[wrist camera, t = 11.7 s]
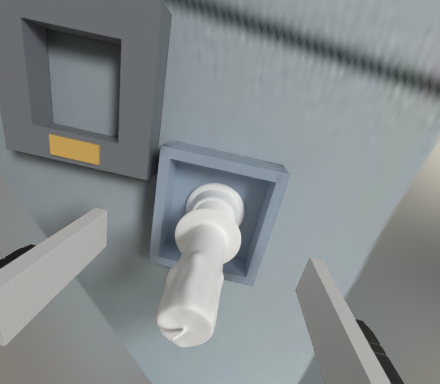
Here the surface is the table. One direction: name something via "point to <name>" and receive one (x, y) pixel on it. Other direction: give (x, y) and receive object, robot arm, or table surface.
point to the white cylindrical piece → (200, 264)
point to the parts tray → (224, 174)
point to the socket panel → (129, 80)
